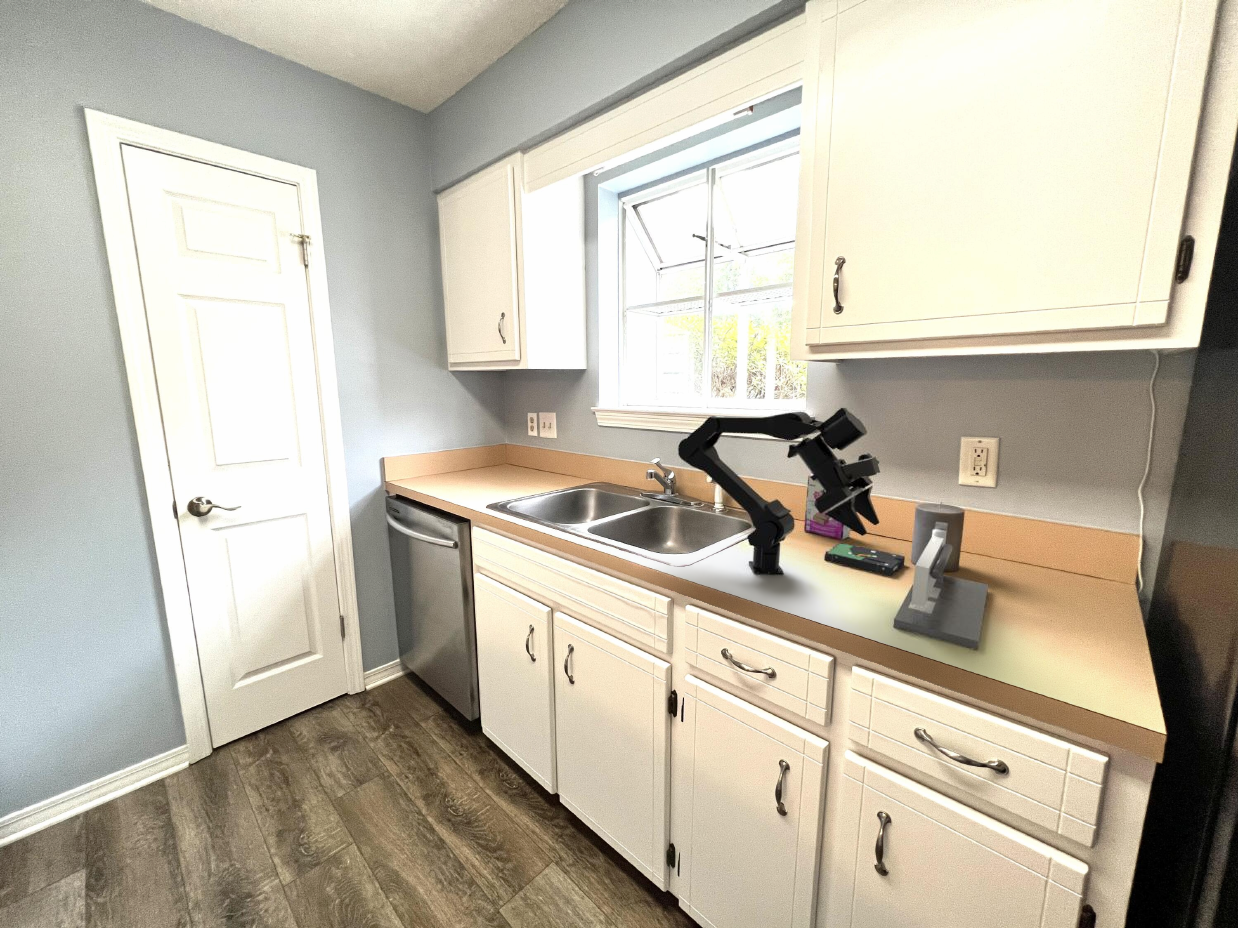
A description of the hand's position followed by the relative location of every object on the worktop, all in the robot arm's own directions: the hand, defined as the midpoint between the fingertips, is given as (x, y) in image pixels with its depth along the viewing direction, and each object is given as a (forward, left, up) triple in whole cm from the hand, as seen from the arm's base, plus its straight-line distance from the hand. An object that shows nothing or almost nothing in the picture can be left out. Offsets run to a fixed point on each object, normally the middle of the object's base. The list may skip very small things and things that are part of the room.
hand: (871, 529), depth 98 cm
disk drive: (-19, +7, -14) cm, 25 cm away
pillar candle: (-18, +23, -14) cm, 33 cm away
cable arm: (+4, +11, -11) cm, 15 cm away
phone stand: (+5, +12, -14) cm, 19 cm away
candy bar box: (-40, +6, -14) cm, 43 cm away
